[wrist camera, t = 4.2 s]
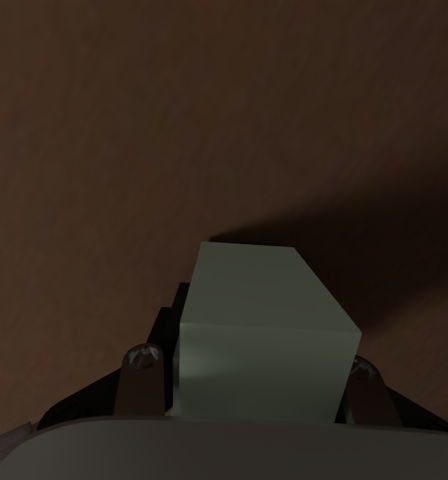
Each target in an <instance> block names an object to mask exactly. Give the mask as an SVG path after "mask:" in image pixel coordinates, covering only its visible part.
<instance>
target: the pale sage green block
mask: <svg viewBox="0 0 448 480" xmlns="http://www.w3.org/2000/svg"><path fill="white" fill-rule="evenodd" d="M361 336H362V332H361V331H360V330H359V328H358V327H357V326H356V325H355V323H354V322H353V321H352V320H351V318H350V317H349V316H348V315H347V313H346V312H345V311H344V310H343V308H342V307H341V306H340V305H339V303H338V302H337V301H336V300H335V298H334V297H333V296H332V295H331V293H330V292H329V291H328V290H327V288H326V287H325V286H324V285H323V283H322V282H321V281H320V280H319V278H318V277H317V276H316V275H315V274H314V272H313V271H312V270H311V269H310V267H309V266H308V265H307V264H306V262H305V261H304V260H303V259H302V257H301V256H300V255H299V254H298V252H297V251H296V250H295V249H294V247H279V246H264V245H248V244H232V243H217V242H201V246H200V250H199V254H198V257H197V261H196V265H195V268H194V272H193V276H192V280H191V283H190V287H189V291H188V295H187V298H186V302H185V306H184V309H183V313H182V317H181V321H180V332H179V336H178V340H177V344H176V348H175V352H174V356H173V416H179V417H205V418H231V419H254V420H277V421H298V422H319V423H334V421H335V418H336V414H337V411H338V408H339V405H340V402H341V399H342V395H343V392H344V389H345V386H346V383H347V380H348V377H349V373H350V370H351V367H352V364H353V361H354V358H355V354H356V351H357V348H358V345H359V342H360V339H361Z"/></svg>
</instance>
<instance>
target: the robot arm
mask: <svg viewBox="0 0 448 480" xmlns="http://www.w3.org/2000/svg"><path fill="white" fill-rule="evenodd" d="M189 287H190V283H180V285H179V288H178V291H177V293H176V296H175V299H174V302H173V305H172V308H170V307H162V308H161V309H160V311H159V314H158V316H157V318H156V321H155V323H154V326H153V328H152V330H151V333H150V335H149V337H148V340H147V342H146V343H144V344H139V345H137V346H135V347H133V348H131V349H130V350H129V351H128V352H127V353H126V354H125V355H124V358H123V360H122V366H121V368H119V369H117V370H116V371H114V372H112V373H110V374H108V375H107V376H105V377H103V378H101V379H99V380H98V381H96V382H94V383H92V384H90V385H89V386H87V387H85V388H83V389H81V390H80V391H78V392H76V393H74V394H72V395H70V396H69V397H67V398H65V399H63V400H61V401H60V402H58V403H57V404H55V405H54V406H52V407H51V408H50V409H49V410H48V411H47V412H46V413H45V414H44V416H43V417H42V419H41V420H40V421H39V422H36V423H34V424H32V425H31V422H28V423H25V424H23V425H21V426H19V427H17V428H15V429H13V430H11V431H8V432H6V433H4V434H2V435H0V480H448V422H446V421H445V420H443V419H442V418H440V417H438V416H436V415H435V414H433V413H431V412H430V411H428V410H426V409H425V408H423V407H421V406H419V405H418V404H416V403H414V402H413V401H411V400H409V399H407V398H406V397H404V396H402V395H401V394H399V393H397V392H396V391H394V390H392V389H390V388H389V387H387V386H385V383H384V381H383V379H382V376H381V374H380V372H379V371H378V369H377V368H376V367H375V366H374V365H373V364H372V363H371V362H369V361H368V360H367V359H365V358H363V357H361V356H358V355H355V358H354V361H353V364H352V367H351V370H350V373H349V377H348V380H347V383H346V386H345V389H344V392H343V395H342V399H341V402H340V405H339V408H338V411H337V414H336V418H335V421H334V423H319V422H298V421H277V420H254V419H231V418H205V417H179V416H165V412H167V411H168V410H169V409H171V408H172V407H173V356H174V352H175V348H176V344H177V340H178V336H179V332H180V321H181V317H182V313H183V309H184V306H185V302H186V298H187V295H188V291H189Z"/></svg>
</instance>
